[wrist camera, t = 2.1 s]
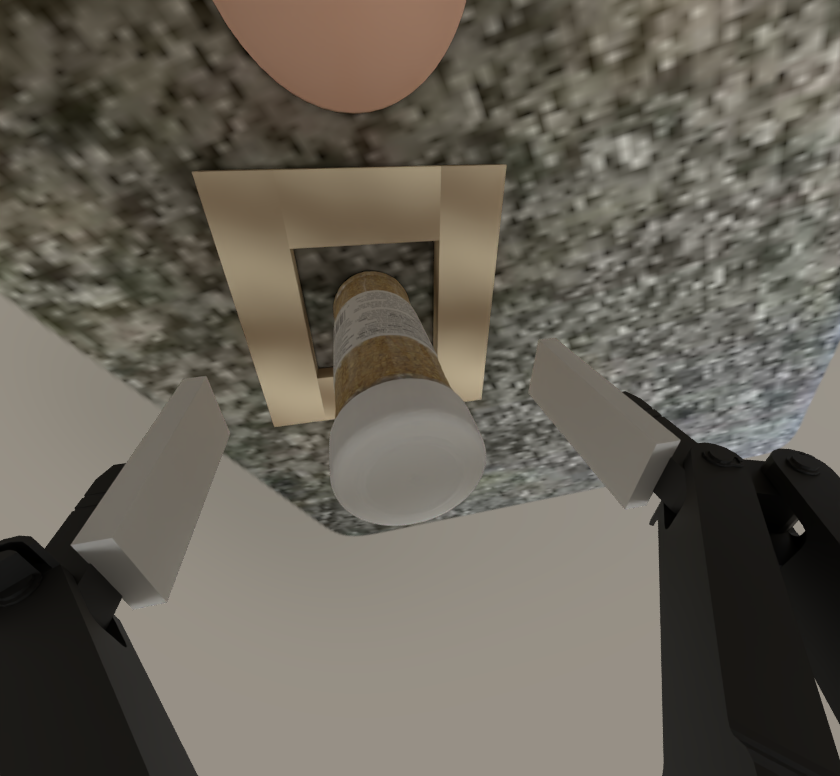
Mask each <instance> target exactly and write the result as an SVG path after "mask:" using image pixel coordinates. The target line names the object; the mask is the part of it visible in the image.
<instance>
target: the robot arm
mask: <svg viewBox="0 0 840 776" xmlns="http://www.w3.org/2000/svg"><path fill="white" fill-rule="evenodd" d="M529 394H530V396H531V397H532V398H533V399H534V400H535V402H536V403H537V404H538V405H539V406H540V408H541V409H542V410H543V411H544V412H545V414H546V415H547V416H548V417H549V419H550V420H551V421H552V422H553V423H554V425H555V426H556V427H557V428H558V429H559V431H560V432H561V433H562V434H563V435H564V437H565V438H566V439H567V440H568V441H569V443H570V444H571V445H572V446H573V448H574V449H575V450H576V451H577V452H578V454H579V455H580V456H581V457H582V458H583V460H584V461H585V462H586V463H587V464H588V466H589V467H590V468H591V469H592V470H593V472H594V473H595V474H596V475H597V477H598V478H599V479H600V480H601V481H602V483H603V484H604V485H605V486H606V487H607V489H608V490H609V491H610V492H611V493H612V495H613V496H614V497H615V498H616V499H617V501H618V502H619V503H620V504H621V505H622V507H623V508H624V509H630V508H635V507H640V506H645V505H647V503H648V501H649V499H650V497H651V495H652V494H653V492H654V493H655V494H656V495H657V496H658V497H659V498H660V499H661V502H660V504H659V506H658V508H657V509H656V511H655V513H654V515H653V516H652V518H651V521H650V523H649V524H650V525H652V526H653V525H654V524H655V522H656V520H658V536H659V537H658V538H659V577H660V578H659V581H660V624H661V667H662V708H663V709H662V710H663V753H664V766H663V775H662V776H840V759H839V756H838V752H837V749H836V746H835V743H834V740H833V736H832V733H831V730H830V727H829V724H828V721H827V717H826V714H825V711H824V708H823V704H822V701H821V698H820V695H819V692H818V688H817V685H816V682H815V680H816V681H817V683H818V685H819V687H820V689H821V691H822V693H823V695H824V696H825V698H826V700H827V702H828V704H829V705H830V707H831V709H832V711H833V713H834V715H835V716H836V718H837V720H838V722H839V724H840V477H839V476H838V475H837V474H836V473H835V472H834V471H833V470H832V469H831V468H830V467H828V466H827V465H826V464H825V463H823V462H821V461H820V460H818V459H816V458H815V457H813V456H811V455H809V454H806V453H803V452H800V451H795V450H791V449H777V450H774V451H772V453H771V454H770V456H769V457H768V458H767V460H766V461H756V460H744V459H742V458H741V457H740V456H738V455H737V454H736V453H734V452H732V451H731V450H729V449H727V448H725V447H722V446H719V445H716V444H711V443H697V442H695V441H694V440H693V439H691V438H690V437H689V436H688V435H686V434H685V433H684V432H683V431H681V430H680V429H679V428H677V427H676V426H675V425H674V424H672V423H671V422H670V421H669V420H667V419H666V418H665V417H662V416H661V414H660V413H658V412H657V411H656V410H655V409H652V407H651V406H649V405H648V404H647V403H646V402H644V401H643V400H642V399H641V398H638V397H636V396H634V395H632V394H630V393H628V392H626V391H624V392H621V391H620V390H619V389H617V388H616V387H615V386H614V385H613V384H611V383H610V382H609V381H608V380H606V379H605V378H604V377H603V376H601V375H600V374H599V373H598V372H597V371H595V370H594V369H593V368H592V367H590V366H589V365H588V364H587V363H585V362H584V361H583V360H582V359H581V358H579V357H578V356H577V355H576V354H574V353H573V352H572V351H571V350H569V349H568V348H567V347H566V346H565V345H563V344H562V343H561V342H560V341H558V340H557V339H556V338H549V339H540V340H538V345H537V351H536V356H535V361H534V366H533V372H532V377H531V382H530V387H529ZM229 436H230V432H229V429H228V427H227V425H226V422H225V420H224V417H223V415H222V412H221V410H220V408H219V405H218V403H217V400H216V398H215V396H214V393H213V391H212V388H211V386H210V384H209V381H208V379H207V376H203V377H194V378H185V379H183V380H182V382H181V383H180V385H179V386H178V388H177V389H176V391H175V392H174V394H173V395H172V396H171V398H170V399H169V401H168V402H167V404H166V405H165V407H164V408H163V410H162V411H161V413H160V414H159V416H158V417H157V419H156V420H155V422H154V423H153V424H152V426H151V427H150V429H149V431H148V432H147V433H146V435H145V436H144V438H143V439H142V441H141V442H140V444H139V445H138V447H137V448H136V449H135V451H134V452H133V454H132V455H131V457H130V458H129V460H128V461H127V463H124V464H117V465H113V466H112V467H111V468H109V469H108V470H107V471H106V472H105V473H103V474H102V475H101V476H100V477H98V478H97V479H96V480H95V481H94V483H93V484H92V485H91V487H90V488H89V489H88V491H87V492H86V494H85V495H84V496H85V497H84V498H82V499H81V500H80V502H79V503H78V505H77V506H76V507H75V511H73V512H71V514H70V515H69V516H68V518H67V519H66V521H65V522H64V523H63V525H62V526H61V527H60V529H59V530H58V531H57V533H56V534H55V535H54V537H53V538H52V539H51V541H50V542H49V544H48V545H47V546H46V548H45V549H44V548H43V547H42V546H41V545H40V544H39V543H38V542H37V541H35V540H34V539H33V538H32V537H31V536H16V537H12V538H8V539H3V540H1V541H0V776H198V775H197V773H196V771H195V769H194V767H193V765H192V763H191V761H190V759H189V757H188V755H187V753H186V751H185V749H184V747H183V745H182V744H181V741H180V739H179V737H178V735H177V733H176V732H175V729H174V728H173V725H172V723H171V721H170V719H169V717H168V715H167V713H166V711H165V709H164V707H163V705H162V703H161V701H160V699H159V697H158V695H157V693H156V691H155V689H154V687H153V686H152V683H151V681H150V679H149V677H148V675H147V673H146V671H145V669H144V667H143V666H142V663H141V662H140V659H139V657H138V655H137V654H136V651H135V650H134V648H133V645H132V643H131V642H130V639H129V637H128V635H127V633H126V631H125V630H124V628H123V626H122V624H121V622H120V620H119V619H118V618H117V617H116V616H115V615H114V613H115V611H116V609H117V607H118V605H119V603H120V601H121V599H122V598H123V600H124V601H125V602H126V603H127V604H128V605H129V606H130V607H131V608H132V609H138V608H143V607H148V606H152V605H157V604H162V603H167V601H168V598H169V595H170V593H171V590H172V587H173V585H174V582H175V579H176V577H177V574H178V571H179V569H180V566H181V563H182V561H183V558H184V555H185V553H186V550H187V547H188V545H189V542H190V539H191V537H192V534H193V531H194V529H195V526H196V523H197V521H198V518H199V516H200V513H201V510H202V508H203V505H204V502H205V499H206V497H207V494H208V492H209V489H210V486H211V483H212V481H213V478H214V475H215V473H216V470H217V467H218V465H219V462H220V459H221V457H222V454H223V452H224V449H225V446H226V444H227V441H228V438H229ZM798 520H799V521H800V522H801V524H802V525H803V527H804V529H805V532H804V533H803V534H802V535H800V536H799V535H798V533H796V531H795V530H794V528H793V526H794V524H795V523H796V522H797V521H798ZM814 678H815V679H814Z"/></svg>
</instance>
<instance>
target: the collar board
mask: <svg viewBox="0 0 840 776" xmlns="http://www.w3.org/2000/svg"><path fill="white" fill-rule="evenodd" d="M506 166H507V165H503V164H477V165H432V166H386V167H340V168H295V169H249V170H204V171H194V172H192V174H193V177H194V180H195V184H196V187H197V190H198V193H199V196H200V199H201V202H202V205H203V208H204V211H205V214H206V217H207V221H208V224H209V227H210V230H211V233H212V236H213V239H214V242H215V245H216V248H217V251H218V254H219V258H220V261H221V264H222V267H223V270H224V273H225V276H226V279H227V282H228V285H229V288H230V291H231V294H232V298H233V301H234V304H235V307H236V310H237V313H238V316H239V319H240V322H241V325H242V328H243V331H244V335H245V338H246V341H247V344H248V347H249V350H250V353H251V356H252V359H253V362H254V365H255V368H256V372H257V375H258V378H259V381H260V384H261V387H262V390H263V393H264V396H265V399H266V402H267V405H268V409H269V412H270V415H271V418H272V421H273V424H274V427H278V426H286V425H293V424H301V423H308V422H316V421H323V420H331V419H335V409H336V408H335V393H334V381H333V367H329V368H320V369H318V366H317V361H316V357H315V352H314V347H313V342H312V337H311V332H310V328H309V323H308V318H307V313H306V308H305V303H304V299H303V294H302V289H301V284H300V279H299V274H298V270H297V265H296V260H295V255H294V250H293V249H297V248H314V247H332V246H350V245H367V244H385V243H402V242H420V241H434V316H433V348H434V350H435V352H436V354H437V357H438V361H439V363H440V365H441V368H442V370H443V372H444V375H445V377H446V378H447V381H448V382H449V385H450V387H451V388H452V389H453V390H454V392H455V393H456V394H458V395H459V396H460V398H461V399H462V400H463V401H464V402H466V401H473V400H481V397H482V388H483V379H484V369H485V360H486V351H487V342H488V332H489V323H490V314H491V305H492V295H493V286H494V277H495V267H496V258H497V249H498V240H499V230H500V221H501V212H502V203H503V193H504V184H505V175H506Z"/></svg>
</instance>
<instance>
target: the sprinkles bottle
mask: <svg viewBox="0 0 840 776" xmlns="http://www.w3.org/2000/svg"><path fill="white" fill-rule="evenodd" d="M333 311H334V319H335V323H334V353H333V381H334V393H335V408H336V409H335V421H334V423H333V426H332V429H331V433H330V440H329V465H330V481H331V486H332V490H333V492H334V494H335V497H336V498H337V500H338V501H339V503H340V504H341V505H342V506H343V507H344V508H345V509H346V510H347V511H348V512H350V513H351V514H352V515H354V516H356V517H358V518H360V519H362V520H364V521H367V522H371V523H375V524H379V525H389V526H400V525H410V524H415V523H420V522H423V521H427V520H430V519H433V518H436V517H438V516H440V515H442V514H444V513H446V512H448V511H449V510H451V509H453V508H454V507H455V506H457V505H458V504H460V503H461V502H462V501H463V500H464V499H466V498H467V497H468V496H469V494H470V493H471V492H472V491H473V490H474V489H475V487H476V486H477V484H478V483H479V481H480V479H481V477H482V475H483V472H484V469H485V464H486V449H485V445H484V441H483V438H482V436H481V434H480V432H479V430H478V427H477V425H476V423H475V421H474V419H473V417H472V415H471V413H470V411H469V410H468V408H467V406H466V404H465V403H464V401H463V400H462V399H461V398H460V396H459V395H458V394H456V393H455V392H454V390H453V389H452V388H451V387H450V385H449V382H448V381H447V378H446V377H445V375H444V372H443V370H442V368H441V365H440V363H439V361H438V357H437V354H436V352H435V350H434V348H433V346H432V344H431V342H430V340H429V338H428V336H427V334H426V332H425V330H424V328H423V326H422V324H421V322H420V320H419V318H418V316H417V314H416V312H415V311H414V309H413V308H412V306H411V305H410V301H409V298H408V295H407V293H406V291H405V289H404V288H403V287H402V286H401V284H400V283H399V282H398V281H397V280H396V279H395V278H393V277H391V276H389V275H387V274H385V273H381V272H377V271H364V272H362V273H358V274H356V275H354V276H352V277H350V278H349V279H347V280H346V281H345V282H344V283H343V284H342V285H341V286H340V288H339V289H338V292H337V294H336V296H335V300H334V303H333Z"/></svg>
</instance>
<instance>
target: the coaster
mask: <svg viewBox="0 0 840 776" xmlns="http://www.w3.org/2000/svg"><path fill="white" fill-rule="evenodd" d="M213 2H214V4H215V5H216V7H217V9H218V11H219V12H220V14H221V16H222V17H223V19H224V21H225V22H226V24H227V26H228V27H229V28H230V30H231V31H232V33H233V34H234V35H235V37H236V38H237V40H238V41H239V42H240V44H241V45H242V46H243V48H244V49H245V50H246V51H247V52H248V53H249V54H250V56H251V57H252V58H253V59H254V60H255V61H256V62H257V64H258V65H259V66H260V67H261V68H262V69H263V70H264V71H265V72H266V73H267V74H268V75H269V76H270V77H272V78H273V79H274V80H275V81H276V82H277V83H278V84H280V85H281V86H282V87H284V88H285V89H286V90H288V91H289V92H290V93H292V94H293V95H295V96H297V97H299V98H300V99H302V100H304V101H306V102H307V103H310V104H312V105H315V106H317V107H320V108H322V109H325V110H329V111H334V112H338V113H348V114H360V113H370V112H373V111H377V110H381V109H384V108H386V107H389V106H391V105H393V104H395V103H397V102H399V101H400V100H402V99H403V98H405V97H406V96H408V95H409V94H411V93H412V92H413V91H414V90H415V89H416V88H418V87H419V86H420V85H421V84H422V83H423V82H424V81H425V80H426V79H427V78H428V77H429V75H430V74H431V73H432V72H433V71H434V69H435V68H436V67H437V65H438V64H439V62H440V61H441V59H442V58H443V56H444V55H445V53H446V51H447V49H448V47H449V45H450V43H451V41H452V39H453V37H454V35H455V33H456V30H457V28H458V25H459V22H460V20H461V17H462V14H463V11H464V7H465V3H466V0H213Z"/></svg>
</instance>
